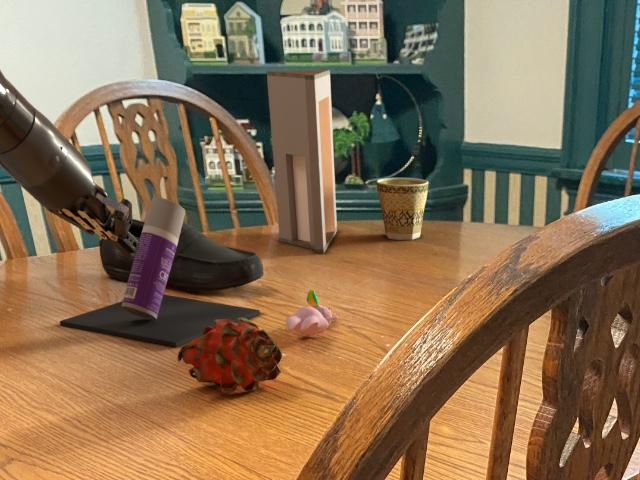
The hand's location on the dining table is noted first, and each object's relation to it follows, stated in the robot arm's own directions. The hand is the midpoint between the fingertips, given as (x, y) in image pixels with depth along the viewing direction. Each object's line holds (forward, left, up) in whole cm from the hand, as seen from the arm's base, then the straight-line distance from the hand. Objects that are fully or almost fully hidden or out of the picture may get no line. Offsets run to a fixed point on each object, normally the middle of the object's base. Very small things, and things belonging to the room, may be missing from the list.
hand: (132, 250), depth 118 cm
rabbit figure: (+22, +8, -10) cm, 25 cm away
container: (0, -1, -8) cm, 8 cm away
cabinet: (-13, +59, -10) cm, 61 cm away
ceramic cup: (+1, +74, -10) cm, 74 cm away
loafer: (-11, +21, -10) cm, 25 cm away
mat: (0, +4, -10) cm, 10 cm away
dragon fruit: (+26, -14, -10) cm, 31 cm away
